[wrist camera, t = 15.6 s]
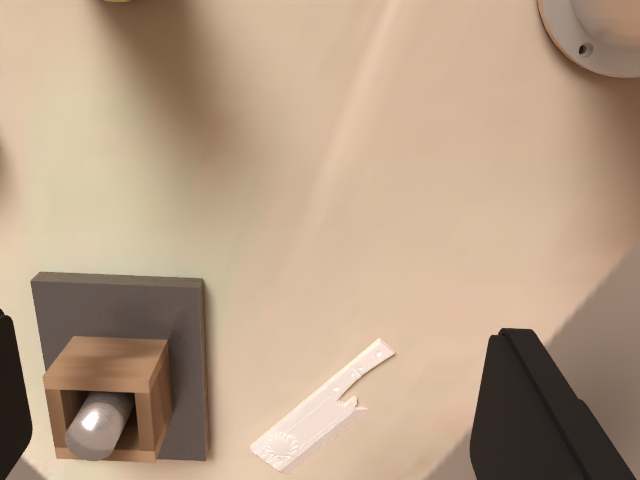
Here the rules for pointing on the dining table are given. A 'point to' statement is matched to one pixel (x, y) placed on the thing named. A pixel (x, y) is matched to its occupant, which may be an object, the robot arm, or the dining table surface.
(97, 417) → the post stand
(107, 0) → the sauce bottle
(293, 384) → the dining table surface
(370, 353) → the butcher knife
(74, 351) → the wooden box
